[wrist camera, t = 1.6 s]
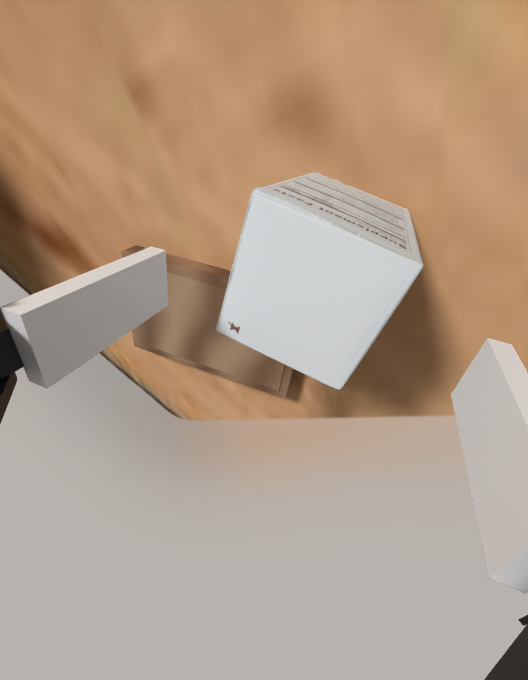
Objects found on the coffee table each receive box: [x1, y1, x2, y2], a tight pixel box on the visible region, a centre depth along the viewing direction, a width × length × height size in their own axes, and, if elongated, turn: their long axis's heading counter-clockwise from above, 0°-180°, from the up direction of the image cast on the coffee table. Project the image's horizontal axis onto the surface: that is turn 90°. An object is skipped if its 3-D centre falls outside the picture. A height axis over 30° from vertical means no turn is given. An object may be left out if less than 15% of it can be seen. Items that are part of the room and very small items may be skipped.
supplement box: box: [216, 172, 424, 390], centre depth 19 cm, size 7×7×13 cm
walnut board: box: [122, 246, 295, 398], centre depth 31 cm, size 18×11×2 cm, turn 81°
